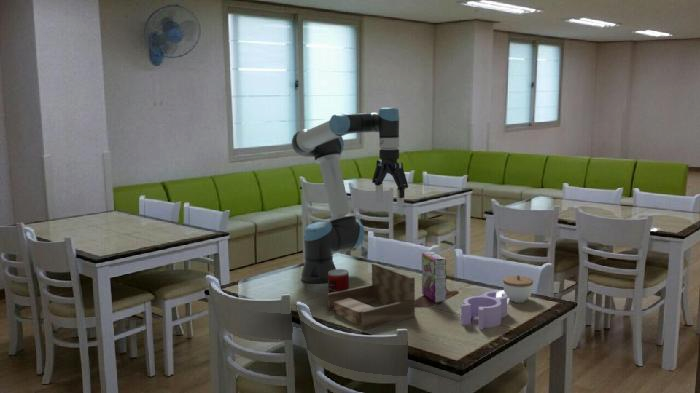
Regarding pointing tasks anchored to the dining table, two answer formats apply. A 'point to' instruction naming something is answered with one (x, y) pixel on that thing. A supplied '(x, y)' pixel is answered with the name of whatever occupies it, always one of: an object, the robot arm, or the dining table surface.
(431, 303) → the wooden tablet
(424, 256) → the candy bar box
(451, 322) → the dining table surface
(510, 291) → the lidded jar
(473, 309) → the clip
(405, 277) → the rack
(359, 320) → the offcut lower
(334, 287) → the canned food
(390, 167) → the robot arm
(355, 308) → the offcut upper
